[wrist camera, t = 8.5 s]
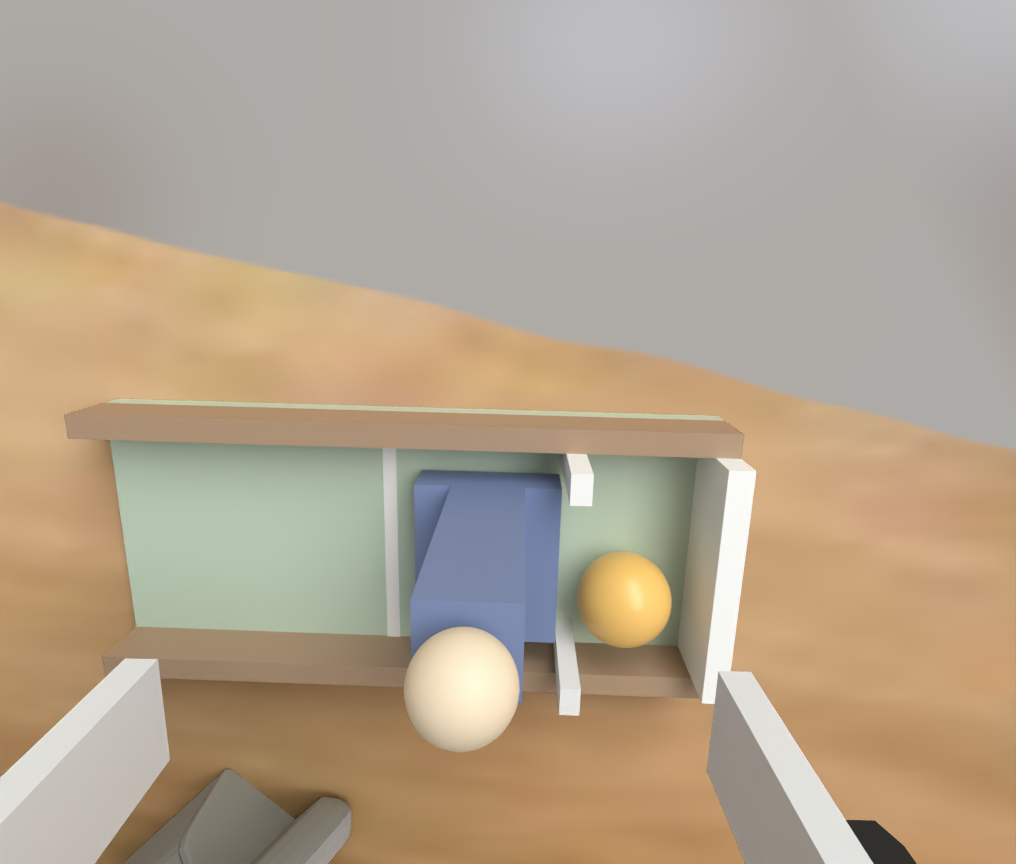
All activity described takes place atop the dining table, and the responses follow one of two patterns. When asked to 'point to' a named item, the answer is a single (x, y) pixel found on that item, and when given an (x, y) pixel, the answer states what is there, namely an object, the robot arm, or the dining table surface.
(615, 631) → the ball
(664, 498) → the pitch
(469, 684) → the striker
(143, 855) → the digital clock
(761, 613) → the dining table surface
